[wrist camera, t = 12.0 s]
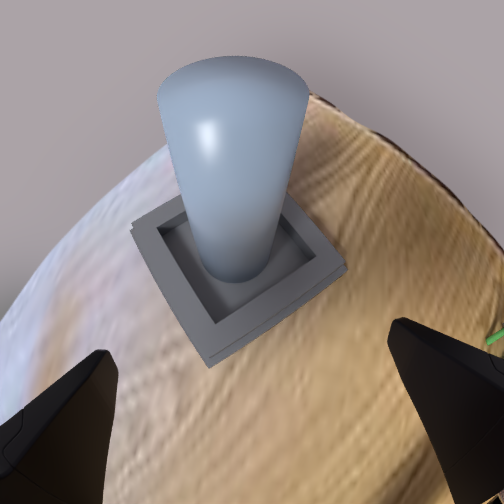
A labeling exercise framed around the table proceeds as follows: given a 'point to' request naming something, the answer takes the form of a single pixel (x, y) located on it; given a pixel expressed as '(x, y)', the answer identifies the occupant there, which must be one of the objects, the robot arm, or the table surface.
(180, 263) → the grey square recessed dock
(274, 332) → the table surface
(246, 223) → the blue-grey rounded knob
